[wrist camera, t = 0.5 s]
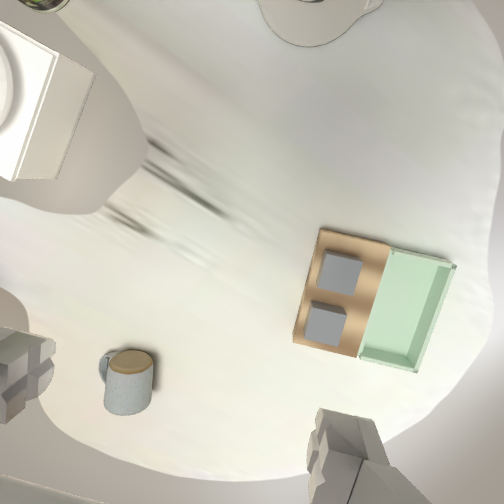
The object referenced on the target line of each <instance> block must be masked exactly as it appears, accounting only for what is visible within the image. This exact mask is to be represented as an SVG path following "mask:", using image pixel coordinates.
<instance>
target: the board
mask: <svg viewBox="0 0 504 504" xmlns="http://www.w3.org/2000/svg"><path fill="white" fill-rule="evenodd" d="M324 249H325V250H329V251H333V252H338V253H342V254H347V255H351V256H356V257H359V258H360V259H361V260H362V261H363V264H362V268H361V271H360V274H359V278H358V281H357V284H356V288H355V291H354V295H353V296H351V295H346V294H342V293H338V292H333V291H329V290H325V289H321V288H318V287H317V284H316V279H317V275H318V272H319V268H320V264H321V261H322V257H323V253H324ZM390 249H391V246H389V245H388V244H386V243H383V242H379V241H374V240H370V239H365V238H361V237H356V236H352V235H347V234H343V233H338V232H334V231H329V230H325V229H320V230H319V234H318V238H317V242H316V246H315V250H314V254H313V257H312V261H311V265H310V269H309V273H308V277H307V280H306V284H305V288H304V292H303V296H302V300H301V303H300V307H299V311H298V315H297V319H296V323H295V327H294V330H293V343H297V344H301V345H306V346H310V347H314V348H318V349H322V350H326V351H330V352H334V353H338V354H342V355H347V356H351V357H355V358H356V357H357V354H358V351H359V347H360V344H361V341H362V338H363V335H364V332H365V328H366V325H367V322H368V319H369V316H370V313H371V310H372V306H373V303H374V300H375V297H376V294H377V291H378V287H379V284H380V281H381V278H382V275H383V272H384V268H385V265H386V262H387V259H388V256H389V253H390ZM311 300H313V301H318V302H322V303H326V304H330V305H335V306H339V307H343V308H344V310H345V312H346V314H347V318H346V321H345V325H344V328H343V331H342V335H341V338H340V341H339V345H338V347H336V346H332V345H328V344H324V343H320V342H316V341H311V340H307V339H304V334H303V328H304V324H305V320H306V317H307V313H308V309H309V305H310V302H311Z"/></svg>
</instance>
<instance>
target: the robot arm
mask: <svg viewBox="0 0 504 504" xmlns="http://www.w3.org/2000/svg"><path fill="white" fill-rule="evenodd" d="M382 2H383V0H258V3H259V6H260V9H261V11H262V14H263V16H264V18H265V20H266V22H267V24H268V25H269V27H270V28H271V29H272V30H273V31H274V32H275V33H276V34H277V35H278V36H279V37H280V38H282V39H283V40H285V41H287V42H289V43H291V44H294V45H298V46H306V47H311V46H319V45H323V44H326V43H328V42H330V41H332V40H334V39H336V38H338V37H339V36H340V35H342V34H343V33H344V32H345V31H347V30H348V29H349V28H350V26H351V25H352V24H353V23H354V22H355V21H356V20H357V19H358V18H360V17H361V16H363V15H365V14H367V13H369V12H371V11H373V10H375V9H376V8H378V7H379V6H380V5H381V4H382ZM55 351H56V342H55V341H54V340H53V339H50V338H47V337H43V336H40V335H36V334H33V333H29V332H25V331H21V330H18V329H14V328H10V327H1V328H0V423H1V424H7V423H8V422H9V421H10V420H11V419H13V418H14V417H15V416H16V415H17V414H18V413H20V412H21V411H22V410H23V409H24V408H25V406H26V401H28V400H31V399H34V398H37V397H38V396H39V395H41V394H42V393H43V392H44V391H45V390H46V388H47V387H48V385H49V383H50V382H51V380H52V377H53V374H54V364H53V362H52V360H51V358H50V357H51V356H52V355H54V354H55ZM315 423H316V430H314V431H313V432H311V435H310V439H309V443H308V450H307V470H308V471H309V473H310V474H311V477H310V480H309V483H308V488H309V500H310V504H432V503H431V502H430V501H429V500H428V499H427V498H426V497H425V496H424V495H423V494H422V493H421V492H420V491H419V490H418V489H417V488H416V487H415V486H414V485H413V484H412V483H411V482H410V481H409V480H408V479H407V478H406V477H405V476H404V475H402V473H401V472H400V471H399V470H398V469H397V468H395V467H391V466H390V463H389V461H388V458H387V456H386V453H385V450H384V447H383V445H382V442H381V439H380V437H379V434H378V431H377V429H376V426H375V423H374V421H373V420H372V419H367V418H363V417H358V416H352V415H348V414H343V413H339V412H335V411H331V410H327V409H323V408H319V410H318V412H317V415H316V418H315ZM0 504H106V503H102V502H99V501H95V500H92V499H88V498H85V497H81V496H78V495H74V494H70V493H67V492H63V491H60V490H56V489H53V488H49V487H46V486H42V485H38V484H35V483H32V482H28V481H24V480H21V479H17V478H14V477H10V476H7V475H3V474H0Z"/></svg>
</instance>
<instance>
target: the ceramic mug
mask: <svg viewBox="0 0 504 504" xmlns="http://www.w3.org/2000/svg"><path fill="white" fill-rule="evenodd" d="M109 357H110V358H112V359H111V360H110V362H109V365H108V369H107V363H108V360H109ZM99 373H100V376H101V378H102V380H103V382H104V383H105V385H106V387H105V394H104V406H105V408H106V409H107V410H108V411H109V412H110V413H112V414H115V415H120V416H127V415H134V414H137V413H139V412H141V411H143V410H144V409H146V408H147V407H148V405H149V404H150V402H151V395H152V379H153V361H152V358H151V357H150V356H149V355H148V354H147V353H145V352H142V351H136V350H130V351H124V352H121V353H118V354H117V353H114V352H111V353H108V354H106V355H104V356H103V357H102V358H101V359H100V362H99Z"/></svg>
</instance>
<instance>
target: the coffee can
mask: <svg viewBox="0 0 504 504" xmlns="http://www.w3.org/2000/svg"><path fill="white" fill-rule="evenodd" d="M19 1H20V2H22V3H23V4H24V5H25V6H27V7H28V8H29V9H31V10H33V11H36V12H39V13H52V12H55V11H57V10H59V9H61V8H62V7H63V6H64V5H65V4H66V3H67V2H68V0H19Z"/></svg>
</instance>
